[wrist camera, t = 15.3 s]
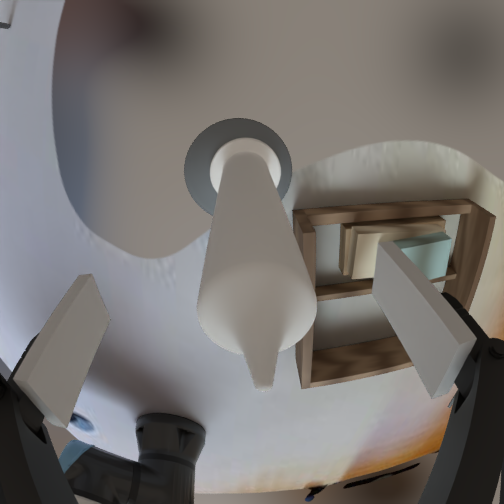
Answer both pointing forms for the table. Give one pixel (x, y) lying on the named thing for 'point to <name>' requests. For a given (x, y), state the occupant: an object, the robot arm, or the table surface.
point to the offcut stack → (404, 236)
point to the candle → (253, 263)
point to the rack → (388, 349)
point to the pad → (213, 141)
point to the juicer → (4, 25)
